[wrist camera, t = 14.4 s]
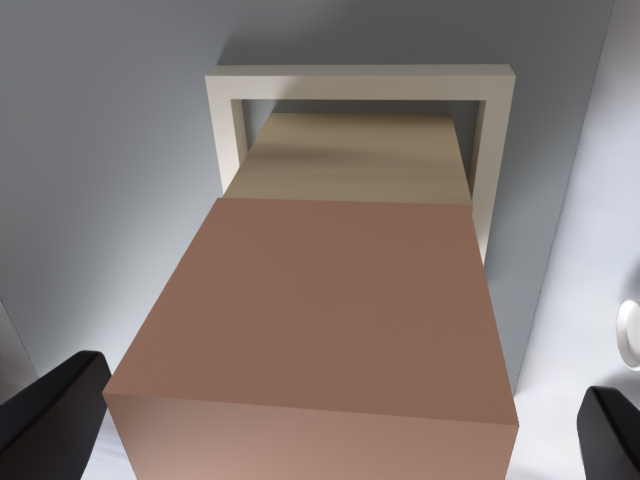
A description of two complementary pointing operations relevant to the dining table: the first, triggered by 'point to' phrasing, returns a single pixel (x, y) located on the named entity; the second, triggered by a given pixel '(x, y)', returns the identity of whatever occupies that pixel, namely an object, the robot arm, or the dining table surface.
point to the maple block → (354, 159)
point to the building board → (246, 123)
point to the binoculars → (628, 334)
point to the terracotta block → (320, 350)
